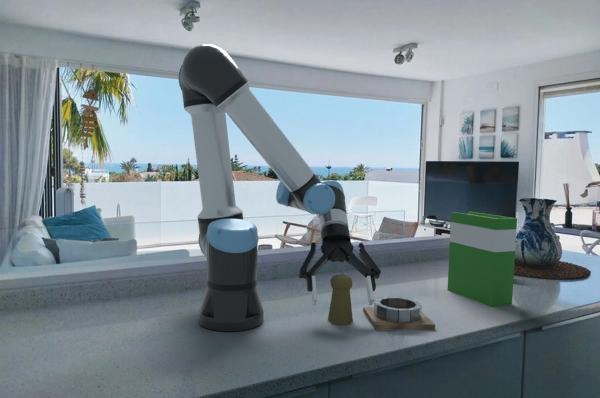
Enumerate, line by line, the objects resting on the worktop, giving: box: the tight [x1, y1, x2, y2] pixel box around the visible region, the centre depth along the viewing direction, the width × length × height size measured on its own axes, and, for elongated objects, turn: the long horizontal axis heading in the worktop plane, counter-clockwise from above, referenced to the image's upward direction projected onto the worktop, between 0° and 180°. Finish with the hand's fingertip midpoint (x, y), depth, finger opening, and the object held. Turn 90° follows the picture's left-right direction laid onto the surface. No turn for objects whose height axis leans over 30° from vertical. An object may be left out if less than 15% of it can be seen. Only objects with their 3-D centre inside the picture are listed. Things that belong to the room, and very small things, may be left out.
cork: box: [327, 274, 354, 326], centre depth 111 cm, size 6×6×11 cm
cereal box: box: [447, 211, 518, 308], centre depth 134 cm, size 18×7×24 cm, turn 23°
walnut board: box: [362, 306, 436, 331], centre depth 112 cm, size 14×13×1 cm
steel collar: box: [373, 296, 423, 323], centre depth 112 cm, size 11×11×3 cm
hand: (343, 302), depth 109 cm, fingers open, 13 cm apart
